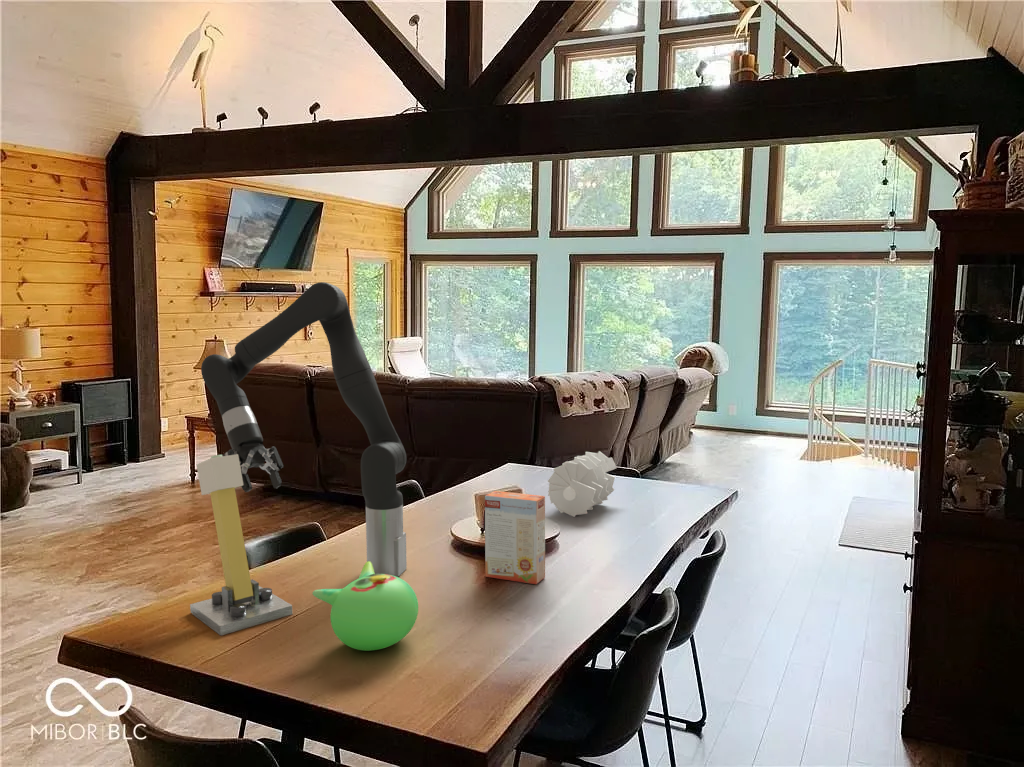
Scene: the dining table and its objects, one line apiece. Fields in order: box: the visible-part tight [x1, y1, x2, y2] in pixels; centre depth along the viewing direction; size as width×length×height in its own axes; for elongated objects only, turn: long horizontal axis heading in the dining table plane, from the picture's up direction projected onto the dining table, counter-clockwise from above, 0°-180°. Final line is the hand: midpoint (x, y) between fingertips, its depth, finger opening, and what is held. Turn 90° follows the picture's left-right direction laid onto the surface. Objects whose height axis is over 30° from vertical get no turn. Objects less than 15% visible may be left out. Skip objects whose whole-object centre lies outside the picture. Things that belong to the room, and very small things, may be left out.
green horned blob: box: [312, 561, 419, 652], centre depth 156 cm, size 18×17×15 cm
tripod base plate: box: [189, 578, 294, 636], centre depth 171 cm, size 16×16×6 cm
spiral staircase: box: [547, 450, 618, 518], centre depth 255 cm, size 18×18×25 cm
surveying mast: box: [196, 454, 253, 605], centre depth 173 cm, size 9×6×33 cm, turn 43°
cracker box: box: [484, 490, 546, 585], centre depth 192 cm, size 14×6×21 cm, turn 65°
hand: (263, 488), depth 187 cm, fingers open, 8 cm apart
